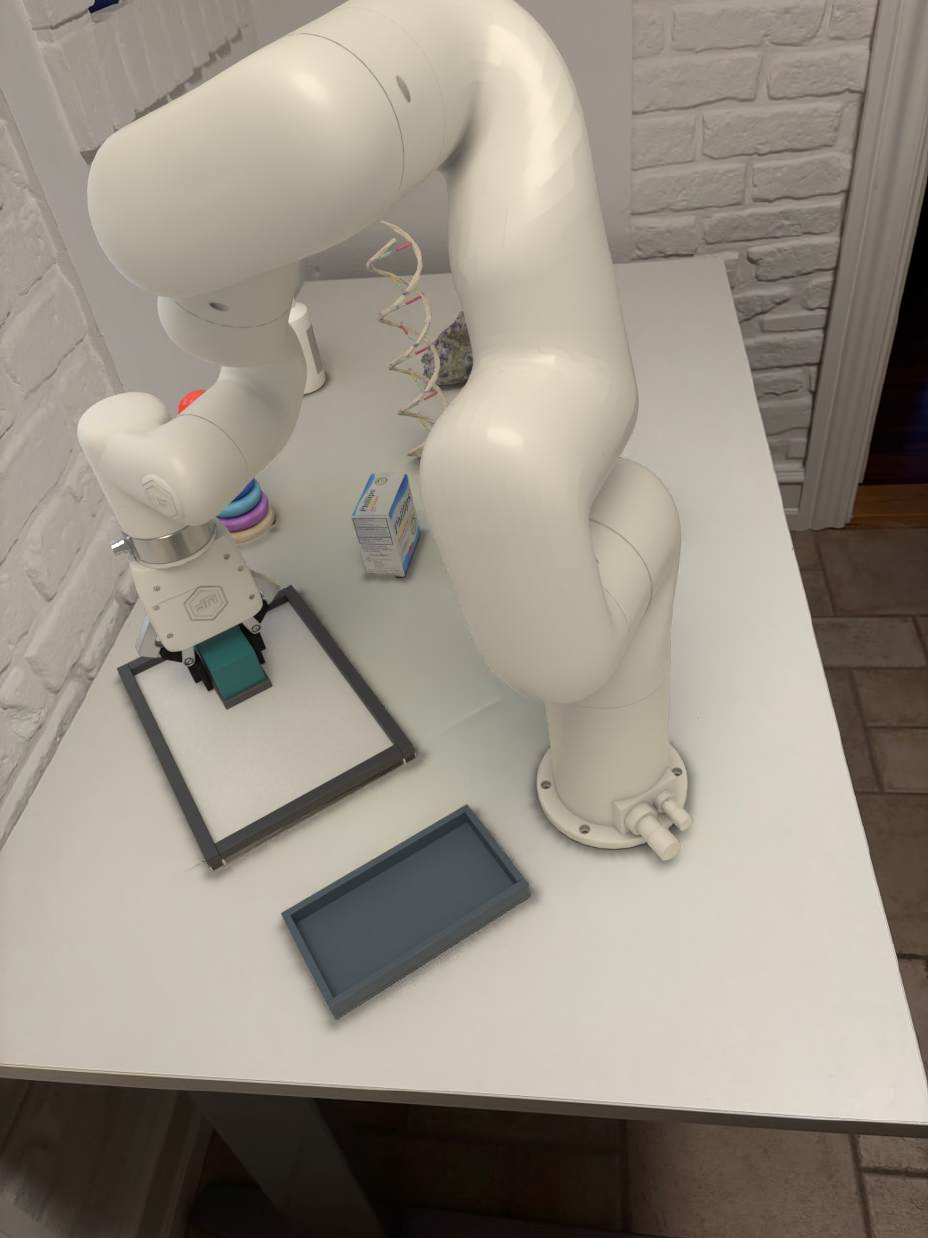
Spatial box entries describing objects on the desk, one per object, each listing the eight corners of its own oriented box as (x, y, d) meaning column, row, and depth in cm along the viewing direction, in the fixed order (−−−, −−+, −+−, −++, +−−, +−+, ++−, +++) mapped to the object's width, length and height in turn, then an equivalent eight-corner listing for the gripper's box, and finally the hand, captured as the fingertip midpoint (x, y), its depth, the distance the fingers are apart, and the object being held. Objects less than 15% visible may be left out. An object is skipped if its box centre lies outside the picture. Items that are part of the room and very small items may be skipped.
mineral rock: (425, 396, 133) (412, 329, 126) (429, 358, 140) (417, 293, 133) (517, 385, 131) (510, 317, 124) (516, 347, 139) (509, 281, 132)
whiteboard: (416, 757, 86) (413, 745, 85) (212, 872, 81) (205, 860, 79) (295, 596, 105) (291, 584, 104) (122, 679, 99) (116, 668, 98)
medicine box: (405, 578, 105) (389, 516, 99) (366, 577, 106) (349, 515, 100) (421, 533, 110) (408, 471, 104) (384, 532, 111) (369, 471, 105)
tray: (530, 897, 75) (528, 883, 73) (335, 1020, 70) (329, 1008, 68) (470, 817, 81) (467, 803, 80) (287, 925, 76) (280, 913, 75)
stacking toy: (198, 541, 115) (141, 406, 102) (238, 502, 120) (188, 368, 107) (250, 554, 112) (197, 416, 99) (288, 514, 117) (243, 377, 104)
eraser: (273, 686, 94) (258, 651, 91) (226, 710, 93) (210, 675, 90) (237, 631, 101) (222, 596, 98) (193, 653, 100) (176, 618, 96)
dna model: (466, 473, 118) (426, 230, 97) (417, 489, 117) (367, 247, 96) (448, 446, 123) (407, 210, 102) (401, 462, 122) (350, 226, 101)
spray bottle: (335, 376, 140) (304, 256, 128) (306, 399, 136) (272, 278, 124) (300, 368, 143) (267, 251, 131) (271, 391, 140) (234, 272, 127)
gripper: (88, 592, 80) (164, 732, 92) (273, 509, 85) (322, 651, 97) (67, 549, 85) (142, 686, 97) (242, 472, 90) (292, 612, 102)
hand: (231, 667), depth 97 cm, fingers closed on eraser, 5 cm apart
